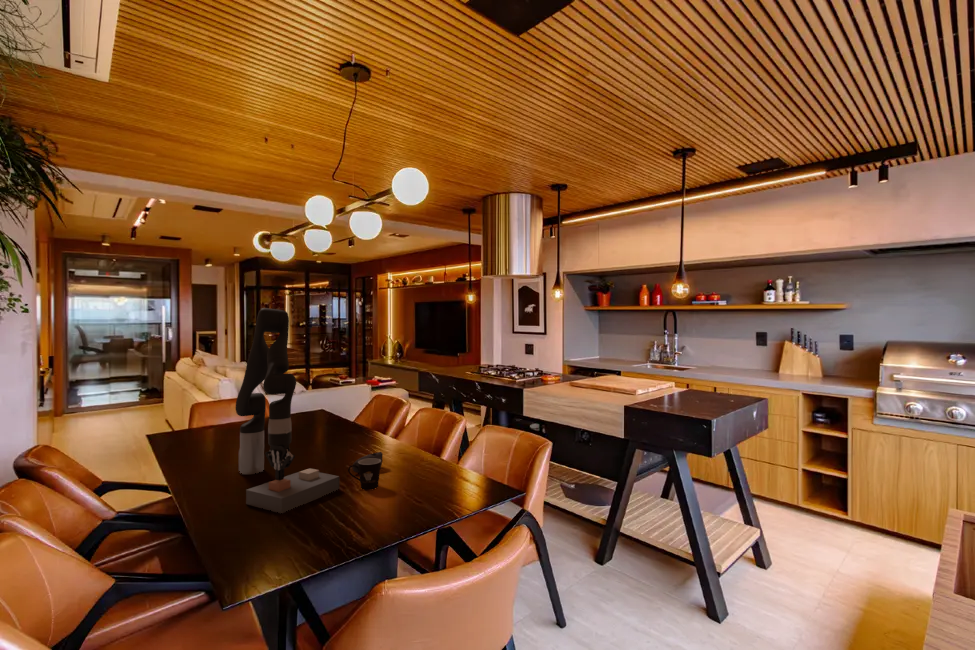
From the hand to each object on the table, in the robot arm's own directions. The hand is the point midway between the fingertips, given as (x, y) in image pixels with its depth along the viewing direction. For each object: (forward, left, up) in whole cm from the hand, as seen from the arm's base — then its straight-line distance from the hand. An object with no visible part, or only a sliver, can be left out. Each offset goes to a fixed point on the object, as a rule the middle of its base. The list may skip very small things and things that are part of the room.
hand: (279, 479), depth 166 cm
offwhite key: (0, +13, -5) cm, 14 cm away
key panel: (0, +7, -8) cm, 10 cm away
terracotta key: (0, 0, -5) cm, 5 cm away
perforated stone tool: (+3, +43, -8) cm, 43 cm away
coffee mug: (+16, +27, -8) cm, 32 cm away
